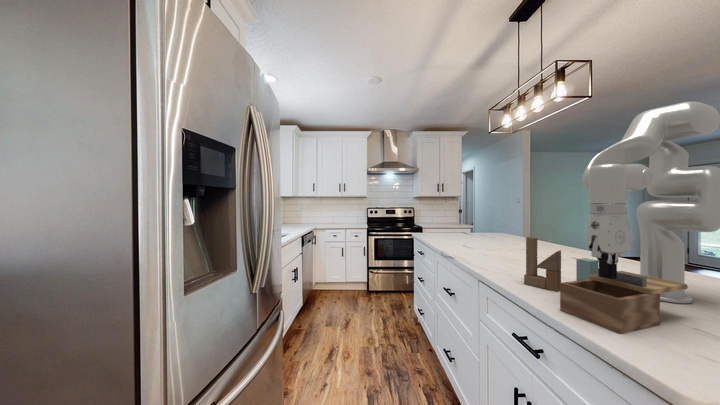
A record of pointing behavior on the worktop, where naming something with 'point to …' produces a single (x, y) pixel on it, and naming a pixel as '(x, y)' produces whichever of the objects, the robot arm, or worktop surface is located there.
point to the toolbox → (610, 305)
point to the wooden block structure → (550, 264)
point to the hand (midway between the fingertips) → (607, 277)
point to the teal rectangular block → (585, 268)
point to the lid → (640, 283)
